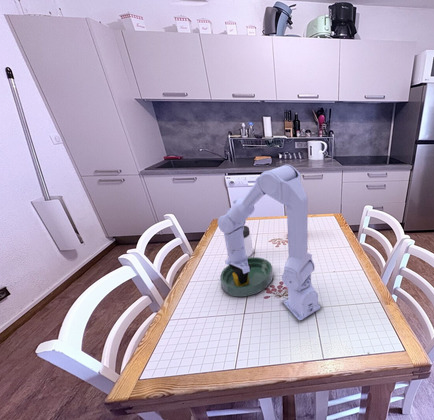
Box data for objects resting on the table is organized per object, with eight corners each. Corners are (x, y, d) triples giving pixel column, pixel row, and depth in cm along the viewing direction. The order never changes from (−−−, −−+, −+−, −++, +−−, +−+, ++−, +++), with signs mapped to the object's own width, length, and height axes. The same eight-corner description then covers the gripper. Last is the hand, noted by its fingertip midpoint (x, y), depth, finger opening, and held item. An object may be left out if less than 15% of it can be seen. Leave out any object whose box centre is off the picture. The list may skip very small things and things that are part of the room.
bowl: (281, 282, 85) (280, 273, 84) (232, 305, 75) (231, 296, 73) (260, 260, 97) (259, 252, 96) (215, 278, 87) (213, 269, 85)
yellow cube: (249, 283, 84) (248, 273, 82) (238, 288, 81) (236, 278, 80) (244, 277, 86) (243, 268, 85) (234, 282, 84) (232, 273, 83)
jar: (255, 255, 101) (252, 230, 96) (236, 262, 96) (232, 236, 92) (247, 246, 107) (244, 223, 103) (229, 252, 102) (225, 228, 98)
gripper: (216, 241, 81) (222, 274, 86) (231, 260, 71) (237, 296, 76) (236, 235, 85) (241, 266, 90) (253, 252, 75) (258, 286, 80)
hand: (241, 279), depth 83 cm, fingers closed on yellow cube, 4 cm apart
